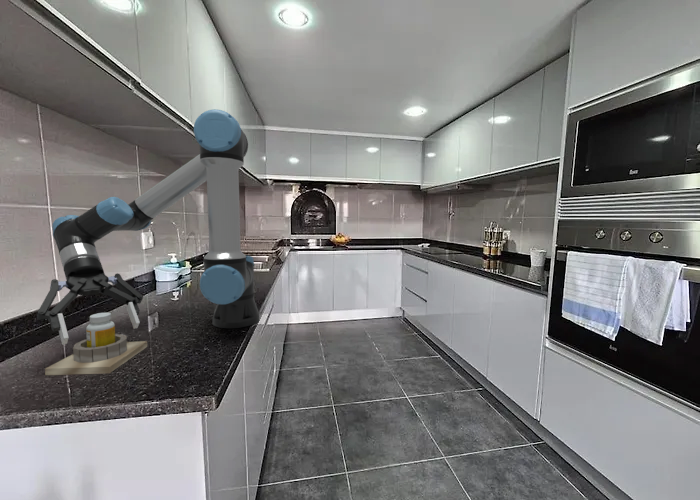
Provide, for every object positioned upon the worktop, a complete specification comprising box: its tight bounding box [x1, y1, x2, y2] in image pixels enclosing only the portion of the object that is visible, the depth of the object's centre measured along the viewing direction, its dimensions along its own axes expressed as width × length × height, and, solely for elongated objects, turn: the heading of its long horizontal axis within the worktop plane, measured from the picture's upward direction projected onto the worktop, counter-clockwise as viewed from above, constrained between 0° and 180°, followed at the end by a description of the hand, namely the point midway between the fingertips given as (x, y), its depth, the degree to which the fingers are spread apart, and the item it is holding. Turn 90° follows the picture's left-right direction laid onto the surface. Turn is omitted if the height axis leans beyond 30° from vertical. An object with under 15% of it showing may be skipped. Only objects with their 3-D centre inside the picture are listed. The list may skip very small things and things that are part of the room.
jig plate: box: [44, 333, 148, 376], centre depth 74 cm, size 13×15×4 cm
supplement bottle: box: [85, 312, 116, 348], centre depth 74 cm, size 5×5×10 cm
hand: (103, 333), depth 72 cm, fingers open, 13 cm apart
